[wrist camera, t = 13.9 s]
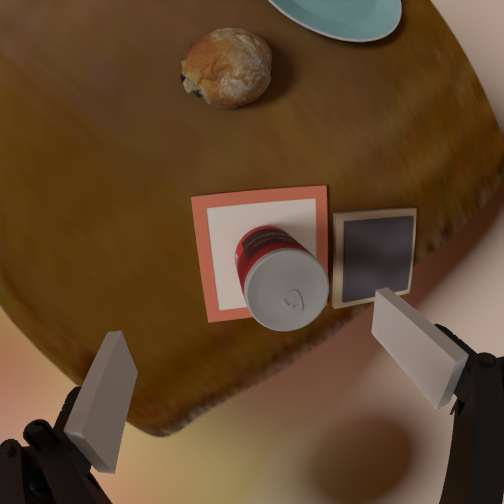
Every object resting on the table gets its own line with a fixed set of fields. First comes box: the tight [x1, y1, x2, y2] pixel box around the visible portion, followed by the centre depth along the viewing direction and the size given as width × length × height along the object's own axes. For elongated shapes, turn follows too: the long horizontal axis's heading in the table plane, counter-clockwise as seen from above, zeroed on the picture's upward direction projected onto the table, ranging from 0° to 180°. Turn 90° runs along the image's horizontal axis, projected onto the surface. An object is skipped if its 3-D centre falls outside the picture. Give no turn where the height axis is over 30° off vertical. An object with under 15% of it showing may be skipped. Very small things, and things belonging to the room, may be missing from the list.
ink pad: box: [332, 207, 417, 309], centre depth 37 cm, size 13×13×2 cm
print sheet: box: [191, 185, 328, 322], centre depth 36 cm, size 16×16×1 cm
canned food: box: [235, 226, 329, 331], centre depth 30 cm, size 8×8×11 cm
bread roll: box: [180, 27, 272, 109], centre depth 27 cm, size 10×10×8 cm
